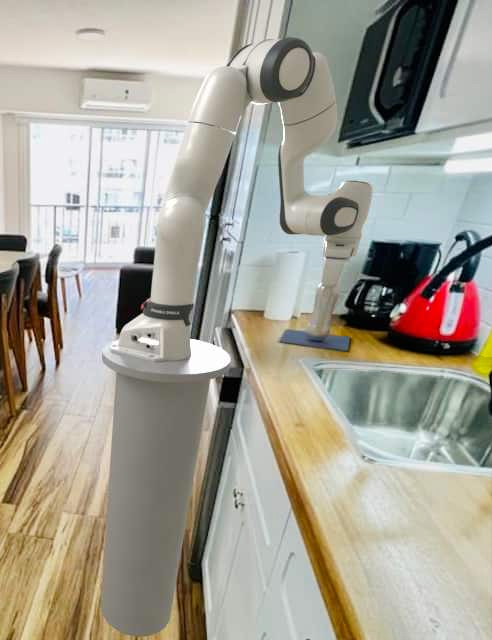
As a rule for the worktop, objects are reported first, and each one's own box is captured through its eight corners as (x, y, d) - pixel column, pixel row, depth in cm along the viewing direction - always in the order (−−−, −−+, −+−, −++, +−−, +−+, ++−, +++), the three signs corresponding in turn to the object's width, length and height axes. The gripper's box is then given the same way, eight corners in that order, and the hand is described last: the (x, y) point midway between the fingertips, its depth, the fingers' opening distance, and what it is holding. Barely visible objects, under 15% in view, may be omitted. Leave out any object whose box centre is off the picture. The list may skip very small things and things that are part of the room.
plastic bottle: (326, 338, 147) (345, 269, 137) (327, 344, 142) (347, 273, 132) (303, 336, 149) (320, 268, 140) (303, 341, 144) (321, 271, 134)
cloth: (279, 342, 144) (280, 341, 144) (287, 330, 156) (287, 329, 156) (347, 351, 136) (347, 350, 136) (349, 338, 149) (349, 337, 148)
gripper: (329, 243, 142) (316, 292, 149) (324, 250, 127) (310, 303, 133) (353, 245, 140) (339, 294, 146) (351, 252, 124) (335, 306, 131)
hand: (325, 299), depth 140 cm, fingers open, 8 cm apart
